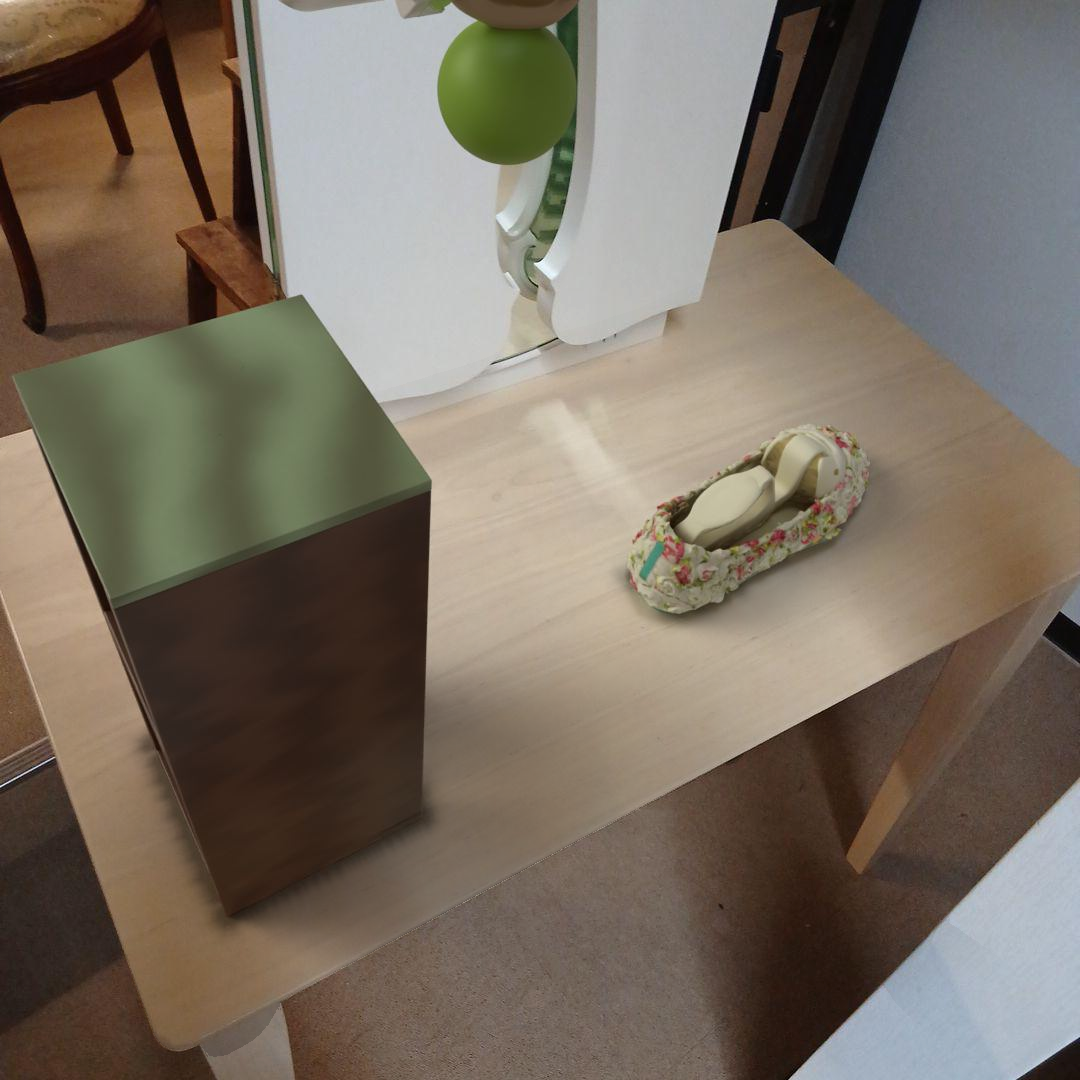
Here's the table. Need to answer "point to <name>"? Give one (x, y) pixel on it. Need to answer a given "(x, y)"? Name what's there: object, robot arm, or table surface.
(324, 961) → the table surface
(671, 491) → the table surface
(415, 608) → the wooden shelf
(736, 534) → the ballet flat
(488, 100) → the snail figurine
